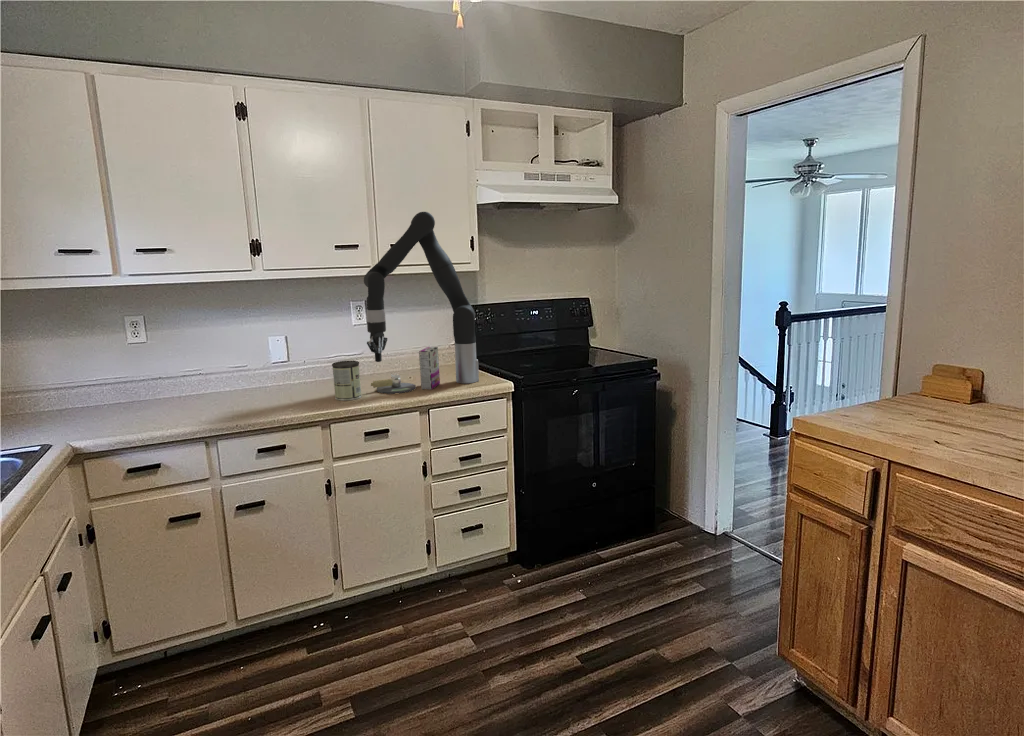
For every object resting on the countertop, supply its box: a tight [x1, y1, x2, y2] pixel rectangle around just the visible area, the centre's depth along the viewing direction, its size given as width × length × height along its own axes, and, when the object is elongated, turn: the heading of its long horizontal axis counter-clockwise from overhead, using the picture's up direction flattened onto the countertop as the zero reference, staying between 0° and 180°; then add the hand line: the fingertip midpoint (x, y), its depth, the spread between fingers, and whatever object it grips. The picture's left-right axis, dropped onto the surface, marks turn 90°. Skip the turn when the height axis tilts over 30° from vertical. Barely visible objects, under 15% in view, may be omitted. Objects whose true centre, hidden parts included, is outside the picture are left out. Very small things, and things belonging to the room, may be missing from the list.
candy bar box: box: [418, 346, 441, 391], centre depth 249 cm, size 11×5×16 cm, turn 168°
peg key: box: [370, 372, 402, 389], centre depth 245 cm, size 12×5×5 cm, turn 117°
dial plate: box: [376, 382, 416, 395], centre depth 247 cm, size 16×16×1 cm
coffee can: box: [331, 360, 362, 402], centre depth 234 cm, size 10×10×14 cm
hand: (378, 361), depth 247 cm, fingers closed
